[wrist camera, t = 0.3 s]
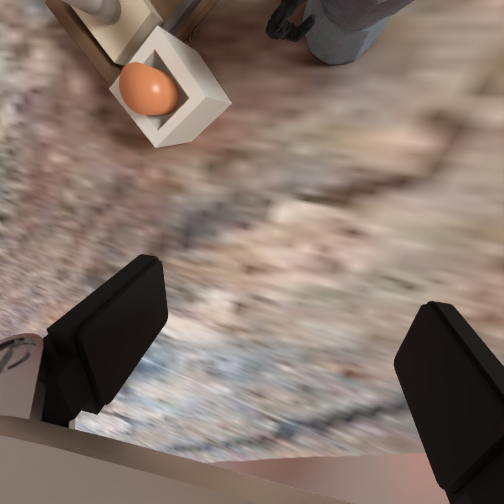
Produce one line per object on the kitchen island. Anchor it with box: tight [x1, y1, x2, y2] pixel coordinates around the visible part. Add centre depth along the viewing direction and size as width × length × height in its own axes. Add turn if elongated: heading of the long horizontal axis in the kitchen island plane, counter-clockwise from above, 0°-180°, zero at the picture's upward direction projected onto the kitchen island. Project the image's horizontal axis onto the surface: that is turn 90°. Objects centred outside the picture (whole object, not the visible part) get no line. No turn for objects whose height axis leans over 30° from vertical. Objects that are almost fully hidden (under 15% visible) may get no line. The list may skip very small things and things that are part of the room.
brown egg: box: [119, 62, 179, 116], centre depth 24 cm, size 4×4×4 cm
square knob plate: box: [62, 0, 164, 66], centre depth 26 cm, size 7×7×9 cm
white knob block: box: [109, 25, 232, 148], centre depth 29 cm, size 8×8×10 cm
